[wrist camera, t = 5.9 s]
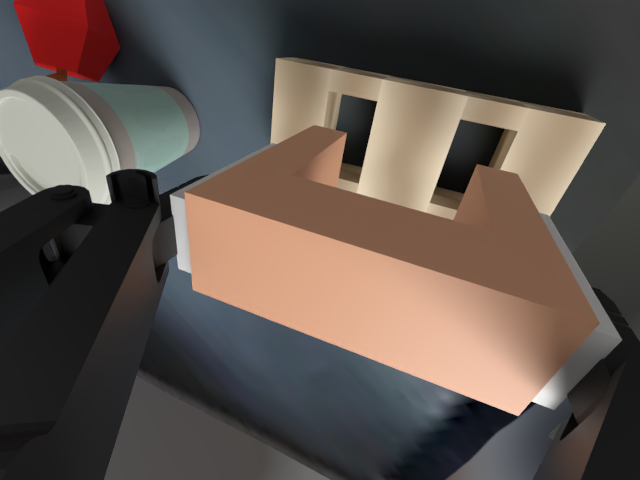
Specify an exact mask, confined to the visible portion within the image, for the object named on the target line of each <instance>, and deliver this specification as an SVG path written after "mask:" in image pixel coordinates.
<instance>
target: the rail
mask: <svg viewBox="0 0 640 480" xmlns="http://www.w3.org/2000/svg"><path fill="white" fill-rule="evenodd" d="M342 94H345V95H350V96H354V97H359V98H364V99H368V100H373V101H377V106H376V110H375V115H374V119H373V124H372V128H371V132H370V137H369V141H368V146H367V150H366V154H365V159H364V163H363V168H362V167H358V166H354V165H350V164H347V163H343V162H341V168H340V173H339V178H338V183H337V188H340V189H343V190H347V191H351V192H354V193H358V194H361V195H365V196H368V197H372V198H376V199H379V200H383V201H386V202H390V203H393V204H397V205H401V206H404V207H408V208H411V209H415V210H418V211H422V212H426V213H429V214H433V215H436V216H440V217H443V218H447V219H451V220H454V217H455V215H456V212H457V210H458V208H459V205H460V203H461V201H462V198H463V196H464V194H463V193H459V192H455V191H451V190H447V189H444V188H440V187H436V184H437V181H438V178H439V176H440V173H441V170H442V168H443V165H444V162H445V159H446V157H447V154H448V151H449V148H450V146H451V143H452V140H453V138H454V135H455V132H456V129H457V127H458V124H459V121H460V119H462V120H467V121H472V122H476V123H481V124H486V125H490V126H495V127H500V128H504V129H505V130H504V132H503V134H502V136H501V139H500V141H499V143H498V145H497V148H496V150H495V152H494V154H493V157H492V159H491V161H490V163H489V166H488V167H491V168H495V169H499V170H504V171H508V172H512V173H516V174H518V175H519V177H520V179H521V181H522V182H523V184H524V186H525V188H526V190H527V192H528V193H529V195H530V197H531V199H532V201H533V202H534V204H535V206H536V208H537V210H538V212H539V213H543V214H546V215H548V216H549V217H550V215H551V214H552V212H553V211H554V209H555V207H556V206H557V204H558V202H559V201H560V199H561V197H562V196H563V194H564V192H565V191H566V189H567V187H568V186H569V184H570V182H571V181H572V179H573V178H574V176H575V174H576V173H577V171H578V169H579V168H580V166H581V164H582V163H583V161H584V159H585V158H586V156H587V154H588V153H589V151H590V149H591V148H592V146H593V145H594V143H595V141H596V140H597V138H598V136H599V135H600V133H601V131H602V130H603V128H604V126H605V125H606V123H604V122H601V121H599V120H597V119H595V118H592V117H590V116H588V115H586V114H584V113H579V112H574V111H569V110H564V109H558V108H553V107H548V106H543V105H538V104H533V103H528V102H523V101H517V100H512V99H507V98H502V97H497V96H492V95H487V94H482V93H477V92H471V91H466V90H461V89H456V88H451V87H446V86H441V85H436V84H430V83H425V82H420V81H415V80H410V79H405V78H400V77H395V76H389V75H384V74H379V73H374V72H369V71H364V70H359V69H354V68H349V67H343V66H338V65H333V64H328V63H323V62H318V61H313V60H308V59H302V58H297V57H294V58H276V66H275V82H274V97H273V113H272V129H271V144H272V143H274V144H278V143H280V142H282V141H284V140H286V139H288V138H290V137H292V136H294V135H296V134H298V133H299V132H301V131H303V130H305V129H307V128H309V127H311V126H313V125H317V126H321V127H325V128H329V129H333V130H336V126H337V120H338V115H339V109H340V103H341V97H342Z"/></svg>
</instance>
